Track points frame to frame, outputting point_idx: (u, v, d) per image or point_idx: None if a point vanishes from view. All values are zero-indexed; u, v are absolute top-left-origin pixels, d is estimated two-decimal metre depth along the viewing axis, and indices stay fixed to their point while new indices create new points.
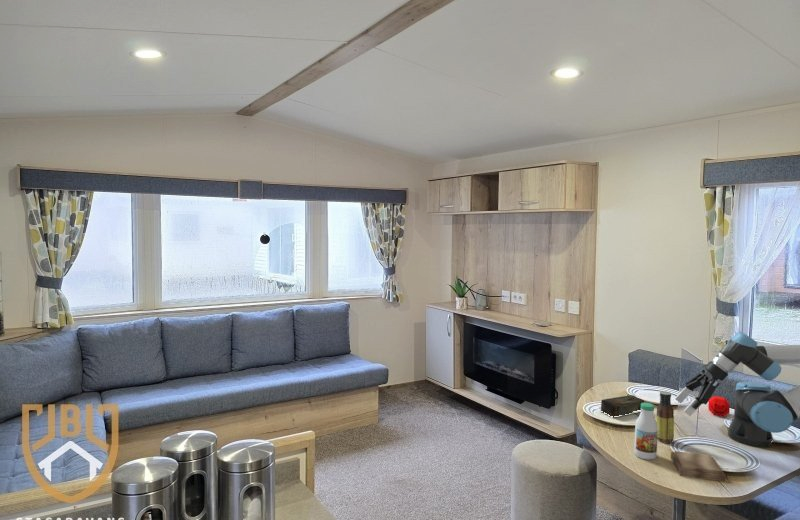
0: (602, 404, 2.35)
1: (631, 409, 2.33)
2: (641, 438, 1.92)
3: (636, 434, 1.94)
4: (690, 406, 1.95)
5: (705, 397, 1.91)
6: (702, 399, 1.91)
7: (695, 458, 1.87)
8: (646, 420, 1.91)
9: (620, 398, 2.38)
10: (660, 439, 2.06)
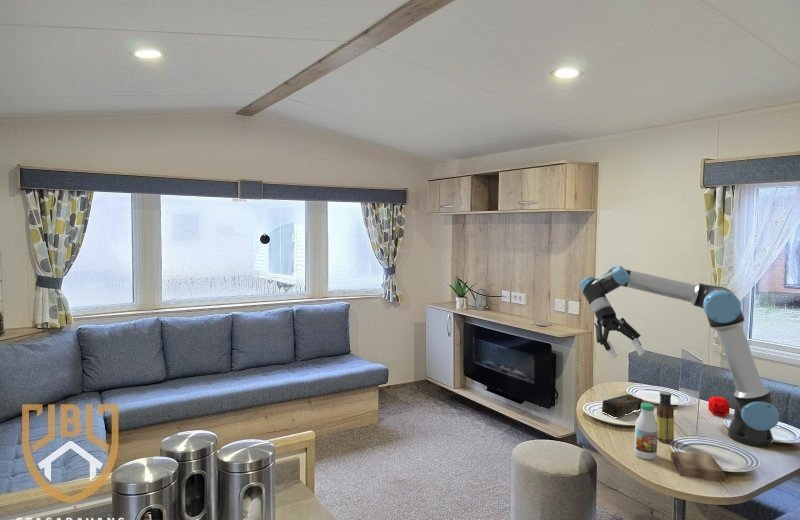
0: (604, 405, 2.34)
1: (631, 409, 2.34)
2: (641, 438, 1.92)
3: (636, 434, 1.94)
4: (608, 351, 2.01)
5: (597, 337, 2.04)
6: (597, 340, 2.03)
7: (695, 458, 1.87)
8: (646, 420, 1.91)
9: (619, 398, 2.38)
10: (660, 439, 2.06)
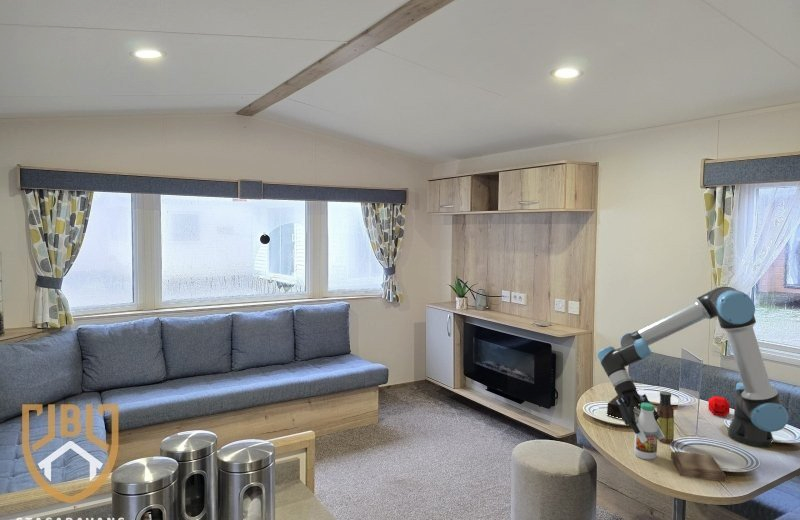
0: (609, 408, 2.31)
1: None
2: None
3: (636, 434, 1.94)
4: (638, 434, 1.92)
5: (625, 419, 1.94)
6: (625, 423, 1.94)
7: (695, 458, 1.87)
8: (646, 420, 1.91)
9: (618, 398, 2.38)
10: None
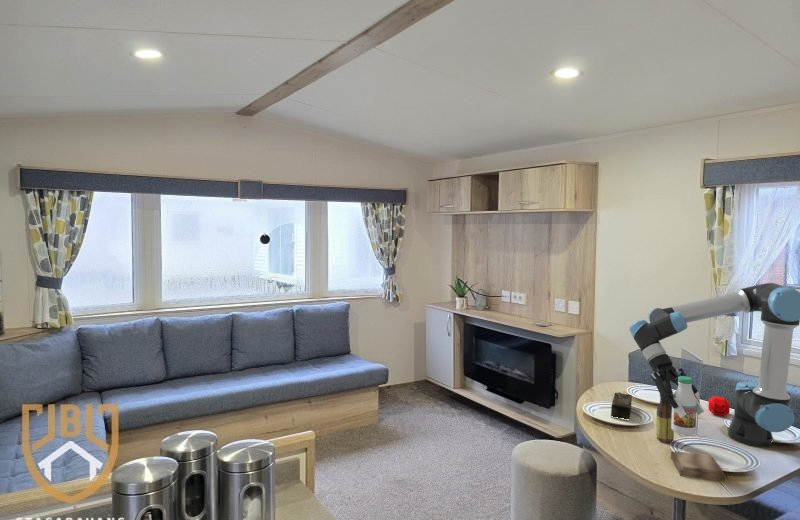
0: (614, 409, 2.29)
1: None
2: None
3: (673, 409, 1.85)
4: (676, 409, 1.83)
5: (661, 393, 1.86)
6: (662, 397, 1.85)
7: (695, 458, 1.87)
8: (684, 394, 1.83)
9: (618, 398, 2.37)
10: (660, 439, 2.06)
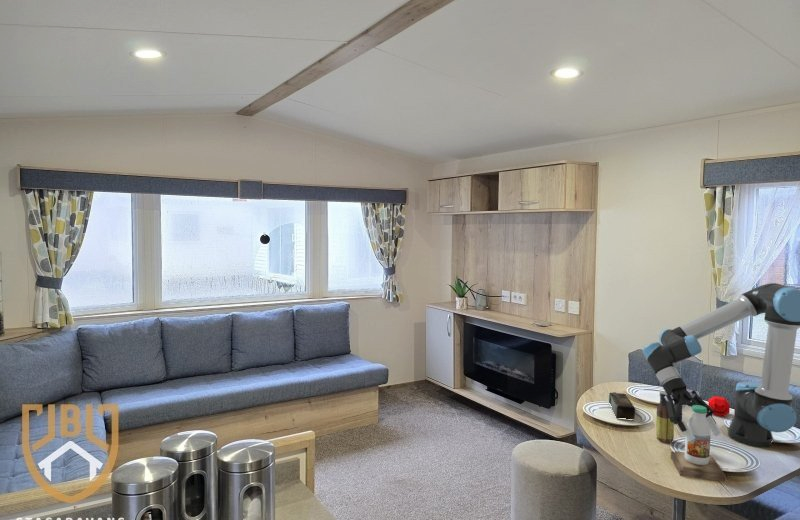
0: (619, 410, 2.28)
1: None
2: (693, 442, 1.81)
3: None
4: (684, 432, 1.82)
5: (670, 415, 1.84)
6: (670, 419, 1.84)
7: None
8: (698, 423, 1.81)
9: (617, 399, 2.37)
10: (660, 439, 2.06)
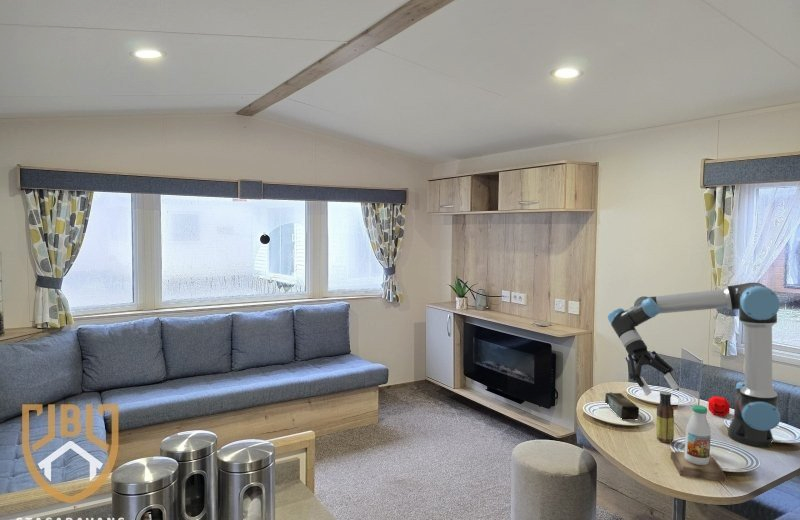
0: (624, 411, 2.27)
1: None
2: (693, 442, 1.81)
3: (687, 438, 1.84)
4: (642, 387, 1.96)
5: (630, 372, 1.99)
6: (629, 376, 1.98)
7: None
8: (699, 423, 1.81)
9: (617, 399, 2.37)
10: (660, 439, 2.06)
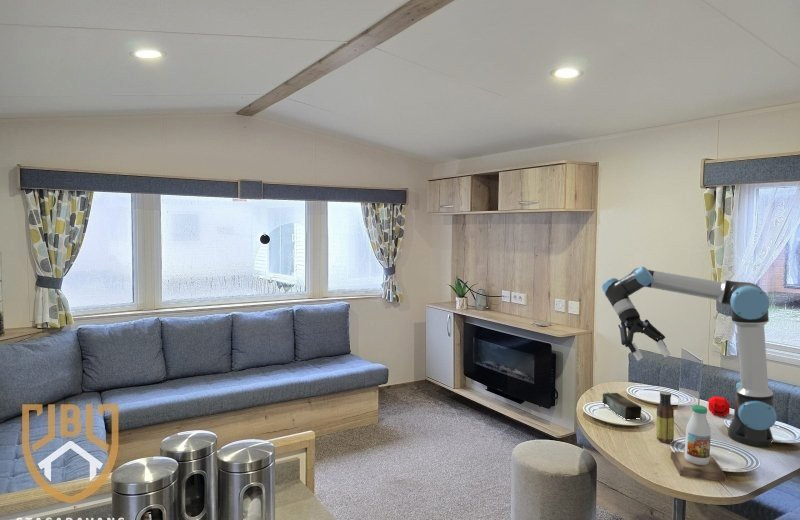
0: (628, 411, 2.27)
1: None
2: (693, 442, 1.81)
3: (687, 438, 1.84)
4: (634, 353, 1.99)
5: (622, 339, 2.02)
6: (622, 342, 2.01)
7: None
8: (699, 423, 1.81)
9: (617, 399, 2.37)
10: (660, 439, 2.06)
